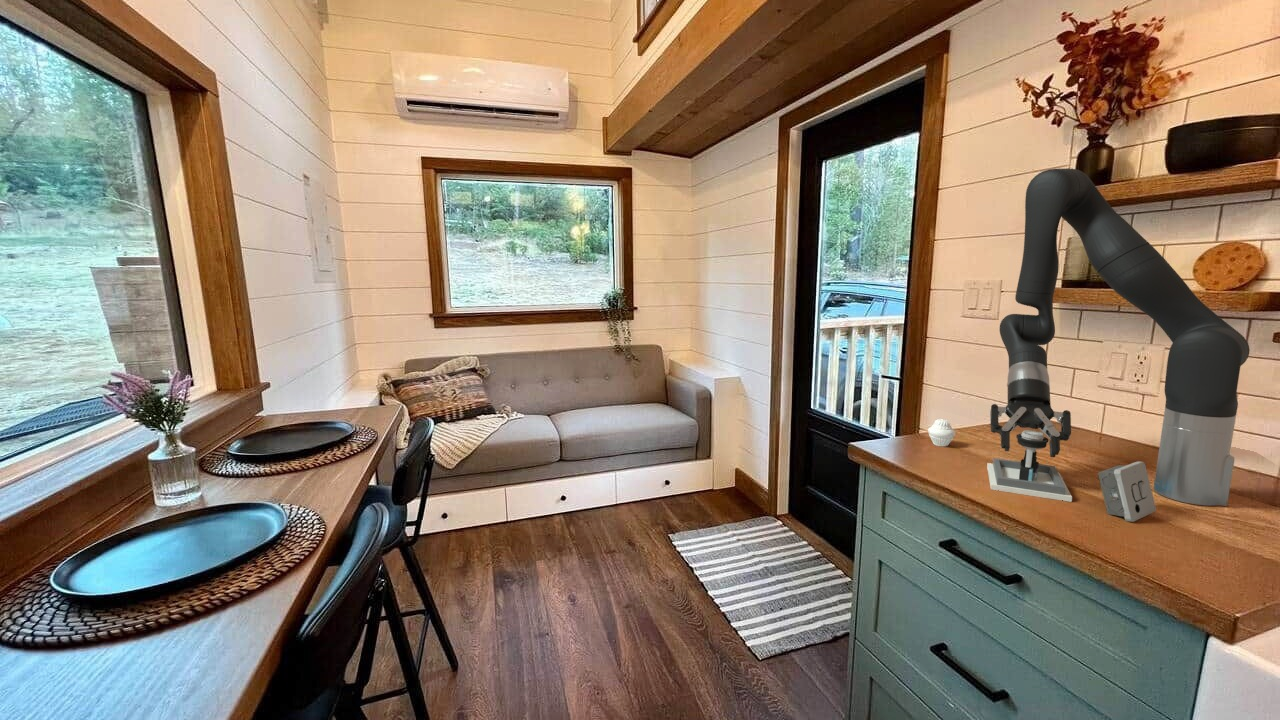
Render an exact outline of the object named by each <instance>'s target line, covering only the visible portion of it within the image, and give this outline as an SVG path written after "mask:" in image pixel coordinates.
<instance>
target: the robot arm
mask: <svg viewBox="0 0 1280 720" xmlns="http://www.w3.org/2000/svg"><path fill="white" fill-rule="evenodd" d="M1024 203H1025V204H1024V205H1025V206H1024V209H1025V210H1024V212H1025V213H1024V214H1025V216H1024V217H1025V218H1024V241H1023V253H1022V260H1021V266H1020V271H1019V277H1018V282H1017V286H1016V291H1015V301H1016V302H1017V303H1018V304H1020V305H1022V306H1026V307H1030V308H1034V309H1036V310H1037V311H1038V314H1022V313H1011V314H1008V315H1006V316H1005V317H1003V318H1002V319H1001V321H1000V324H999V334H1000V338H1001V341H1002V344H1004V347H1005V349H1006V352H1007V356H1008V374H1007V383H1006V387H1007V404H1006V406H998V404H996V403H993V404H991V408H990V411H989V412H990V416H989V418H990V432H991V433H994V434H999V436H1000V447H1001V449H1004V452H1007V453H1008V452H1010V446H1011V445H1010V444H1011V440H1010V438H1011V435H1010V434H1011V432H1012V431H1013V430H1015V429H1016V428H1017V427H1019V428H1021V429H1022V428H1023V429H1025V428H1029V429H1032V430H1038V429H1039V430H1040V432H1041V433H1043V435H1046V436H1047V438H1048V440H1049V441H1048V442H1049V457H1050V458H1055V457H1056V456H1058V455H1059V454H1060V452H1061V441H1065V442H1067V441H1068V440H1069V439H1070V436H1071V435H1072V417H1071V416H1072V415H1071V414H1072V413H1071V411H1069V410H1067V409H1066V410H1063V411H1054V409H1052V404H1051V403H1052V402H1051V385H1050V376H1049V375H1050V374H1049V371H1048V360H1047V359H1048V356H1047V355H1048V354H1047V351H1046V350H1045V348H1044V347H1042V346H1045V345H1048V344H1049V343H1051V342H1052V340H1053V339H1054V337H1055V334H1056V326H1055V325H1056V324H1055V320H1054V319H1055V318H1054V309H1053V307H1054V306H1053V305H1054V303H1053V302H1054V301H1053V300H1054V294H1055V290H1056V284H1057V280H1058V277H1059V276H1058V275H1059V267H1060V266H1059V265H1060V263H1059V253H1058V244H1057V243H1058V241H1057V239H1058V230H1059V225H1060V222H1061V219H1063V220H1064V221H1065V222H1066V223H1067V224H1068V225H1070V227H1071V228H1073V230H1074V231H1075V232H1076V233H1077V234H1078V236H1079V238H1080V240H1081V242H1082V245H1083V248H1084V250H1085V253H1086V255H1087V258H1088V260H1089V263H1090V264H1091V266H1092V267H1093V269H1094V270H1095V272H1096V273H1098V274H1099V276H1100V277H1101V278H1102V279H1103V280H1104V281H1105V283H1106V284H1107V285H1108V286H1109V287H1110V288H1111V289H1112V290H1113V291H1114V292H1115V293H1116V294H1118V295H1119V296H1120V297H1121V298H1123V299H1124V300H1125V301H1127V302H1128V303H1129V304H1131V305H1133V306H1134V307H1135V308H1136V309H1139V310H1140V311H1141V312H1143V314H1146V315H1147V316H1148V317H1150V318H1151V319H1152V320H1153V321H1154V322H1155V323H1156V324H1157V325H1158V326H1159V327H1160V329H1162V330H1163V332H1164V333H1165V334H1166V336H1167V337H1168V339H1169V340H1170V341H1171V342H1172V344H1171V345H1170V348H1169V351H1168V354H1167V355H1168V356H1167V363H1166V371H1165V378H1164V379H1165V382H1164V397H1165V407H1164V411H1163V412H1164V413H1163V421H1162V427H1161V434H1160V441H1159V448H1158V454H1157V462H1156V463H1157V464H1156V469H1155V470H1156V471H1155V476H1154V484H1153V490H1154V492H1155V493H1157V494H1159V495H1161V496H1163V497H1166V498H1168V499H1171V500H1175V501H1177V502H1182V503H1187V504H1192V505H1199V506H1210V507H1211V506H1223V507H1224V506H1225V507H1227V506H1228V501H1229V496H1230V489H1231V482H1232V477H1233V470H1234V465H1235V457H1234V456H1233V455H1231V449H1232V442H1233V436H1234V430H1235V424H1236V418H1237V413H1238V407H1239V401H1238V395H1237V391H1238V384H1239V378H1240V371H1241V367H1242V366H1243V365H1244V364H1245V363H1246V361H1247V360H1248V358H1249V356H1250V345H1249V343H1248V340H1247V339H1246V338H1245V337H1244V336H1243V334H1241V332H1239V331H1238V330H1236V329H1235V328H1234V327H1233V326H1232V325H1230V324H1228V323H1227V322H1226V321H1225V320H1224V319H1223V318H1222V317H1220V316H1219V315H1217V314H1216V313H1215V312H1214V311H1213V310H1211V308H1209V307H1208V306H1207V305H1206V304H1205V303H1203V302H1202V301H1201V300H1200V299H1199V298H1198V297H1197V295H1196V294H1195V293H1194V292H1193V290H1191V288H1190V287H1189V285H1188V284H1187V283H1186V282H1185V280H1183V278H1182V277H1181V276H1180V275H1179V273H1177V271H1176V270H1175V269H1174V268H1173V267H1172V266H1171V265H1170V263H1169V262H1168V261H1167V260H1166V258H1164V256H1162V255H1161V253H1160V252H1159V251H1158V250H1157V249H1156V248H1155V247H1154V246H1153V245H1152V244H1151V243H1150V242H1149V241H1147V240H1146V238H1144V237H1143V236H1142V235H1141V234H1140V233H1139V232H1138V231H1137V230H1136V229H1135V228H1134V227H1133V226H1132V225H1131V224H1130V223H1129V222H1128V221H1127V220H1126V219H1125V218H1123V217H1122V216H1121V215H1119V213H1118V212H1117V211H1116V210H1115V209H1114V208H1113V207H1112V206H1111V205H1110V203H1108V201H1107V200H1106V198H1105V197H1104V196H1103V195H1102V193H1101V192H1100V191H1099V189H1098V188H1097V186H1096V185H1095V183H1094V182H1093V181H1092V179H1090V176H1088V175H1087V174H1086V173H1084V172H1083V171H1081V170H1080V169H1076V168H1068V167H1067V168H1050V169H1046V170H1043V171H1041V172H1038V174H1036V175H1035V176H1034V177H1033V178H1032V179H1031V180H1030V181H1029V183H1028V185H1027V187H1026V190H1025V201H1024ZM1002 414H1005V415H1006V416H1007V417H1008V418H1009V419H1008V420H1007V422H1006V423H1005V424H1004V425H1000V424H999V417H1001V416H1002ZM1053 418H1055V419H1056V421H1057V422H1058V423H1060V431H1058V430H1057V429H1056V427H1055V426H1054V424H1053V422H1052V419H1053Z"/></svg>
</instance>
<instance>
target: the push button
mask: <svg viewBox="0 0 1280 720" xmlns="http://www.w3.org/2000/svg"><path fill="white" fill-rule="evenodd" d="M1016 439H1017V444H1018V445H1020V446H1021V447H1023V448H1025V450H1024V456H1023V459H1021V460H1020V462H1021V464H1020V465H1021V468H1020V473H1019V480H1026V481H1032V480H1033V478H1034V477H1035V473H1037V477H1036V480H1037V478H1038V472H1037V469H1038V468H1039V464H1040V463H1039V461H1037V460H1038V459H1037V458H1038V457H1037V453H1038V452H1037V450H1042V449H1045V448H1046V447H1047V443H1048V442H1049V438H1048V437H1045V436H1044V433H1043V432H1042V431H1037V430H1030V429H1029V430H1023V431H1022V432H1021V433H1019V434H1016Z"/></svg>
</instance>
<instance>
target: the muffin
mask: <svg viewBox="0 0 1280 720" xmlns="http://www.w3.org/2000/svg"><path fill="white" fill-rule="evenodd" d="M927 432H928V436H929V437H930V439H931V442H932V443H933V445H934V446H937V447H944V448H945V447H948V446H949V445H950V443H951V442H952V441H953V439H954V437H955V435H956V430H955V429H954V428H953V427H952V425H951V423H950V421H949V420H947V419H943V418H938V419H935V420H934V423H933V424H932V426H930V427H929V428H928V429H927Z"/></svg>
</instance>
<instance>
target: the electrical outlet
mask: <svg viewBox="0 0 1280 720" xmlns="http://www.w3.org/2000/svg"><path fill="white" fill-rule="evenodd" d="M1148 475H1149V474H1148V471H1147V466H1146V464H1145V462H1144V461H1135V462H1131V463H1130V464H1126V465H1120V464H1118V465H1115V466H1113V467H1110V468H1107V469H1104V470H1101V471H1099V472H1098V473H1097V476H1098V479H1099V483H1100V489H1101V491H1102V497H1103V500H1104V505H1105V509H1106V513H1107V515H1108V516H1109V515H1111V516H1118V517H1123V518H1124V520H1125V521H1126V522H1131V523H1134V522H1136V521H1138V520H1140V519H1142V518H1144V517H1147V516H1149V515H1150V514H1153V513H1155V512H1156V509H1157V508H1156V503H1155V499H1154V498H1155V497H1154V495H1153V491H1152V486H1151V482H1150V478H1149V476H1148ZM1110 489H1112V490H1110ZM1112 493H1113V494H1114V496H1113V495H1112Z"/></svg>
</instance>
